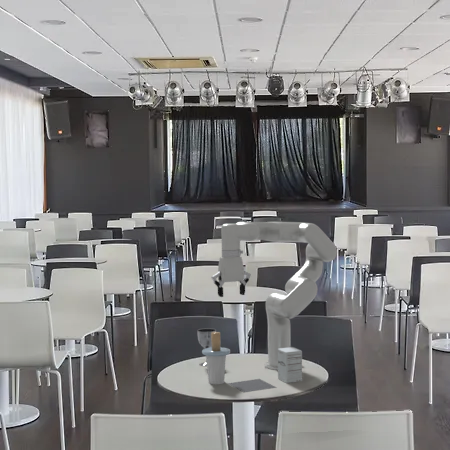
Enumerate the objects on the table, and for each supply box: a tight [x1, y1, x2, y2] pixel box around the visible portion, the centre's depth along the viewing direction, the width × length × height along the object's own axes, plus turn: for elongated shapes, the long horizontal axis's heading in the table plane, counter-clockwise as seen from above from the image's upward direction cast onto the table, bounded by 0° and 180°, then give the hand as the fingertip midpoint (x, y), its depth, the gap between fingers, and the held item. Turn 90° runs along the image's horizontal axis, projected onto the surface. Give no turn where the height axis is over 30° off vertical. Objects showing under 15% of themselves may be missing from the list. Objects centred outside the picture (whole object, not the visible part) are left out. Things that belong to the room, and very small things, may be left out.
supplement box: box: [277, 346, 303, 384], centre depth 308 cm, size 7×7×13 cm
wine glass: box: [197, 327, 217, 367], centre depth 336 cm, size 8×8×15 cm
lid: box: [201, 331, 231, 357], centre depth 305 cm, size 11×11×8 cm
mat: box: [227, 378, 277, 393], centre depth 301 cm, size 14×14×1 cm
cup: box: [205, 355, 227, 385], centre depth 306 cm, size 8×8×12 cm
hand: (231, 295), depth 318 cm, fingers open, 9 cm apart
